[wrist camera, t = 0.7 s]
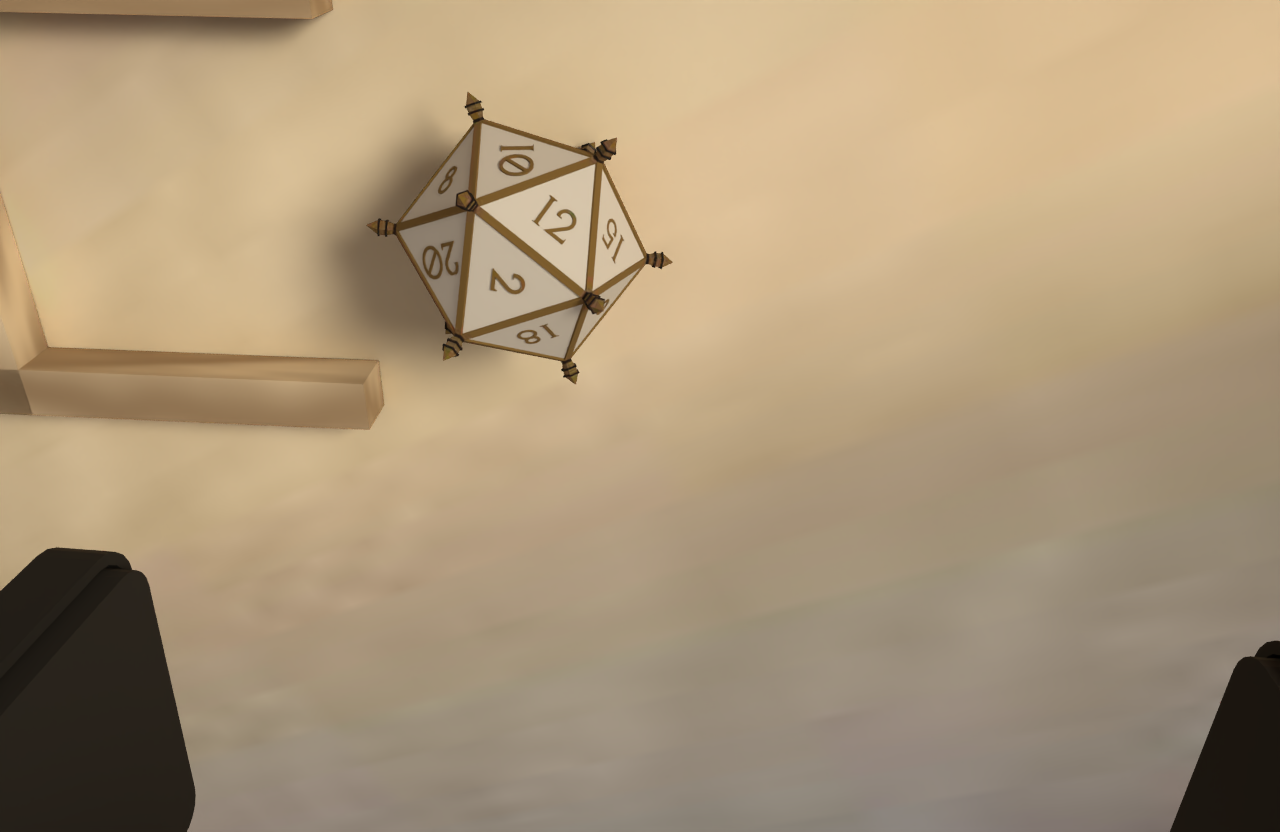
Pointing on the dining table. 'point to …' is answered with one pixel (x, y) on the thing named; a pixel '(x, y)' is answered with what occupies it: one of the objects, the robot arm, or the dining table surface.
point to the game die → (521, 241)
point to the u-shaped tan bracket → (168, 381)
